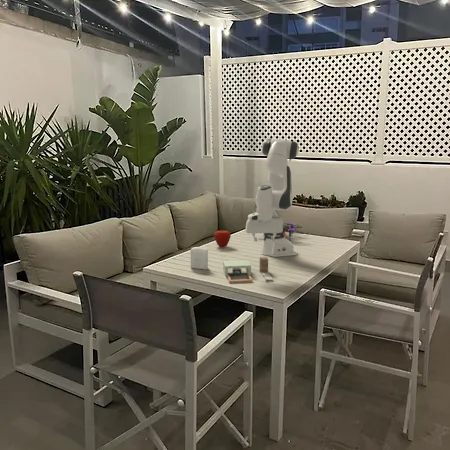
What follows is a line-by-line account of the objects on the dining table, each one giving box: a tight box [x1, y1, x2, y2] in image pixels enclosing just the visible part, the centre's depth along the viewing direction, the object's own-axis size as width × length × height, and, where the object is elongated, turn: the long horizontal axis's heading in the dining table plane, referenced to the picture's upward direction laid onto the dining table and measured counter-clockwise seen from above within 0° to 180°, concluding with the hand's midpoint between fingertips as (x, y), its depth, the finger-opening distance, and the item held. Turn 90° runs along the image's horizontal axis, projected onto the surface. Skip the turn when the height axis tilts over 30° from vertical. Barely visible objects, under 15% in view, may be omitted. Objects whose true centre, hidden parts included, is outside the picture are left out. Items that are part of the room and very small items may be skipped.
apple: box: [214, 229, 232, 248], centre depth 304 cm, size 11×11×12 cm
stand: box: [222, 259, 252, 278], centre depth 249 cm, size 14×10×6 cm
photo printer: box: [190, 246, 209, 270], centre depth 258 cm, size 10×4×12 cm, turn 69°
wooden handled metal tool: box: [259, 256, 274, 283], centre depth 243 cm, size 18×4×8 cm, turn 6°
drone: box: [282, 222, 305, 242], centre depth 330 cm, size 40×10×28 cm
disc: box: [231, 268, 242, 276], centre depth 249 cm, size 5×5×2 cm
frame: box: [226, 274, 253, 284], centre depth 238 cm, size 12×10×1 cm
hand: (264, 240), depth 247 cm, fingers open, 8 cm apart
